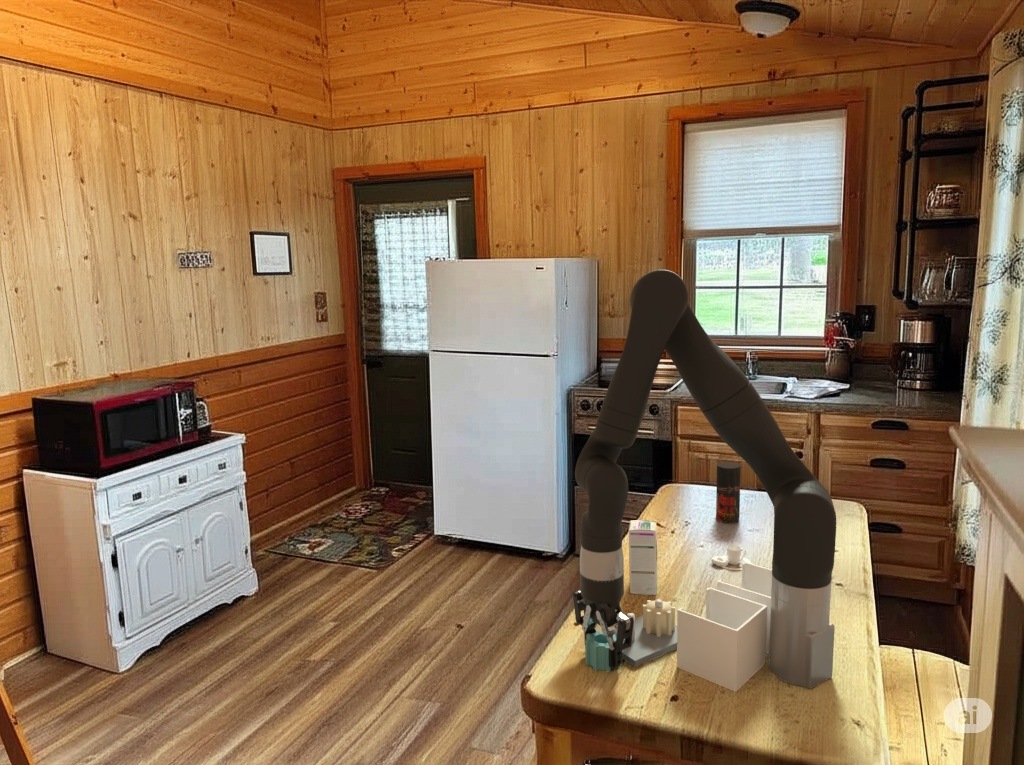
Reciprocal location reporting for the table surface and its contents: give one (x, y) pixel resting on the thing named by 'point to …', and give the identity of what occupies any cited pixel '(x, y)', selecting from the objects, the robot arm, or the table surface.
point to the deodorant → (728, 492)
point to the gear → (597, 651)
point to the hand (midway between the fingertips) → (602, 657)
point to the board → (652, 633)
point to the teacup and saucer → (731, 557)
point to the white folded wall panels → (728, 630)
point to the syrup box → (643, 557)
